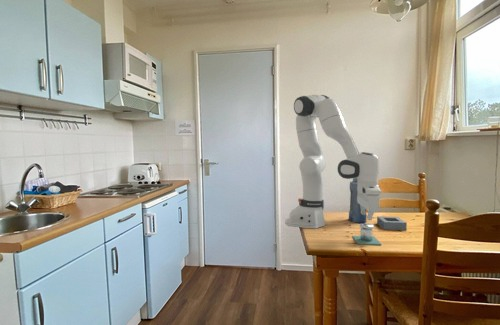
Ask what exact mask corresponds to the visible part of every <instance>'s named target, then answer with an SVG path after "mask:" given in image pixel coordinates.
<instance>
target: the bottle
mask: <svg viewBox="0 0 500 325" xmlns="http://www.w3.org/2000/svg"><path fill="white" fill-rule="evenodd" d="M357 181H358V179H357V178H352V181H349V192H350V196H349V200H350V201H349V204H350V205H349V211H348V221H350V222H352V223H359V224H360V223H367V216H368V214H367V213H366V214H365V215H362V214H361V208H360V204H359V203H358V202H357V194H358V191H357ZM365 211H366V212H367V210H366V209H365Z"/></svg>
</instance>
